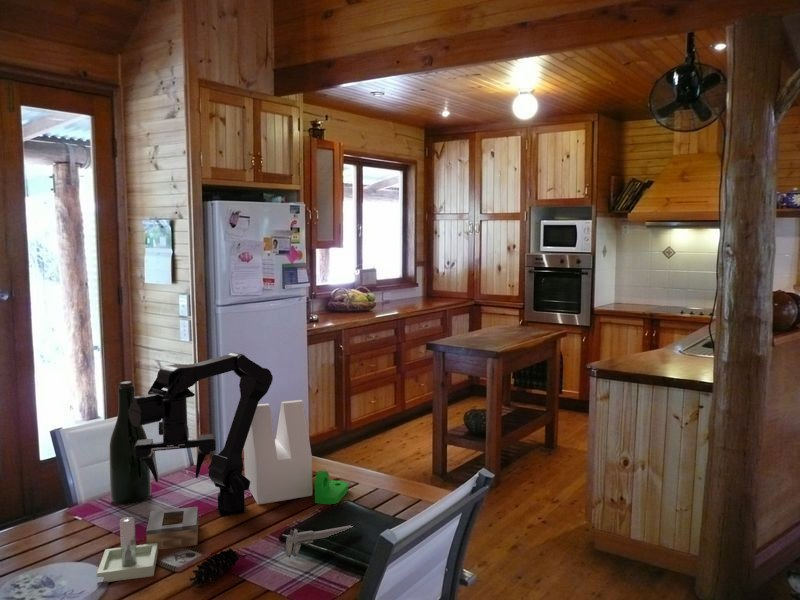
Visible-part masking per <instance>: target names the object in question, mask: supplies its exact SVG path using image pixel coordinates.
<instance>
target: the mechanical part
mask: <svg viewBox="0 0 800 600" xmlns="http://www.w3.org/2000/svg"><path fill="white" fill-rule="evenodd" d="M314 478H315V479H314V503H315V504H320V505H321V504H322V505H329V506H330V505H331V504H335V503H337V504H338V503H339V502H340V501H341V500H342V499H343V498H344V497H345V495H347V493H348V492H349V491H348V490H349V489H348V488H349V487H348V486H349V485H348V483H347V482H346V481H342V480H333V479H331V480H330V475H329V471H327V470H318V471H317V472H316V474H315V477H314ZM331 506H332V505H331Z"/></svg>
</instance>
